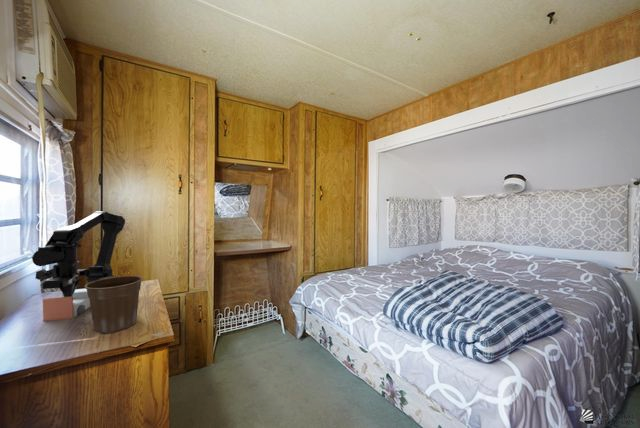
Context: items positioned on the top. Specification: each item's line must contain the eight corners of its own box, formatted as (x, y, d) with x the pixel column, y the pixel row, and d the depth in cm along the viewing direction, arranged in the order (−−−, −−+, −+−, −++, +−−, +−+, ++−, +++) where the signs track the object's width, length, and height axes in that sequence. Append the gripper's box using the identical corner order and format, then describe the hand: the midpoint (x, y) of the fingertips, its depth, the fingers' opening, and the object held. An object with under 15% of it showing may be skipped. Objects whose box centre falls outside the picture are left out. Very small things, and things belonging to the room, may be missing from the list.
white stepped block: (67, 306, 112) (67, 290, 112) (98, 303, 115) (97, 287, 115) (41, 321, 98) (41, 302, 97) (77, 317, 101) (77, 299, 100)
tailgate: (44, 321, 97) (43, 298, 97) (74, 318, 100) (73, 296, 100) (42, 321, 97) (42, 299, 96) (72, 319, 99) (72, 297, 99)
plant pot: (98, 319, 99) (97, 277, 98) (148, 313, 105) (147, 273, 104) (75, 340, 84) (74, 290, 83) (135, 332, 89) (135, 285, 89)
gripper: (57, 257, 110) (58, 294, 110) (21, 267, 92) (23, 311, 92) (89, 255, 113) (90, 291, 114) (61, 265, 95) (62, 307, 96)
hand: (68, 299), depth 104 cm, fingers closed
